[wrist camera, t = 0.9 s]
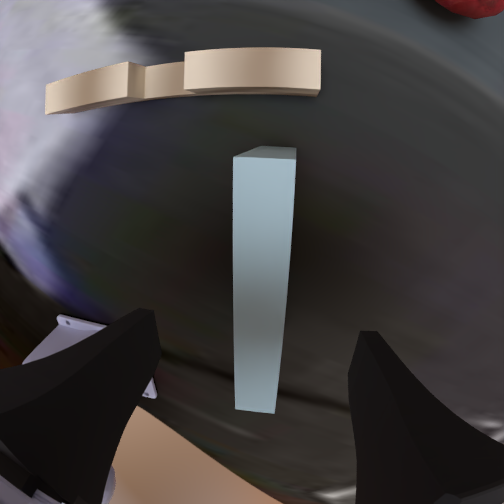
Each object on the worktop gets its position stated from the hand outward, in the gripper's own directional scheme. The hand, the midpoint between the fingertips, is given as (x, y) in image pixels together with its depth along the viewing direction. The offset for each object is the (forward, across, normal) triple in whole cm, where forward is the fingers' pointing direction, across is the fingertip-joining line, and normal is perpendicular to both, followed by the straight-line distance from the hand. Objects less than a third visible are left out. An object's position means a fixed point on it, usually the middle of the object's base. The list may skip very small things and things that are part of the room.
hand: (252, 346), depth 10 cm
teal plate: (+9, 0, 0) cm, 9 cm away
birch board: (+9, +6, -10) cm, 15 cm away
